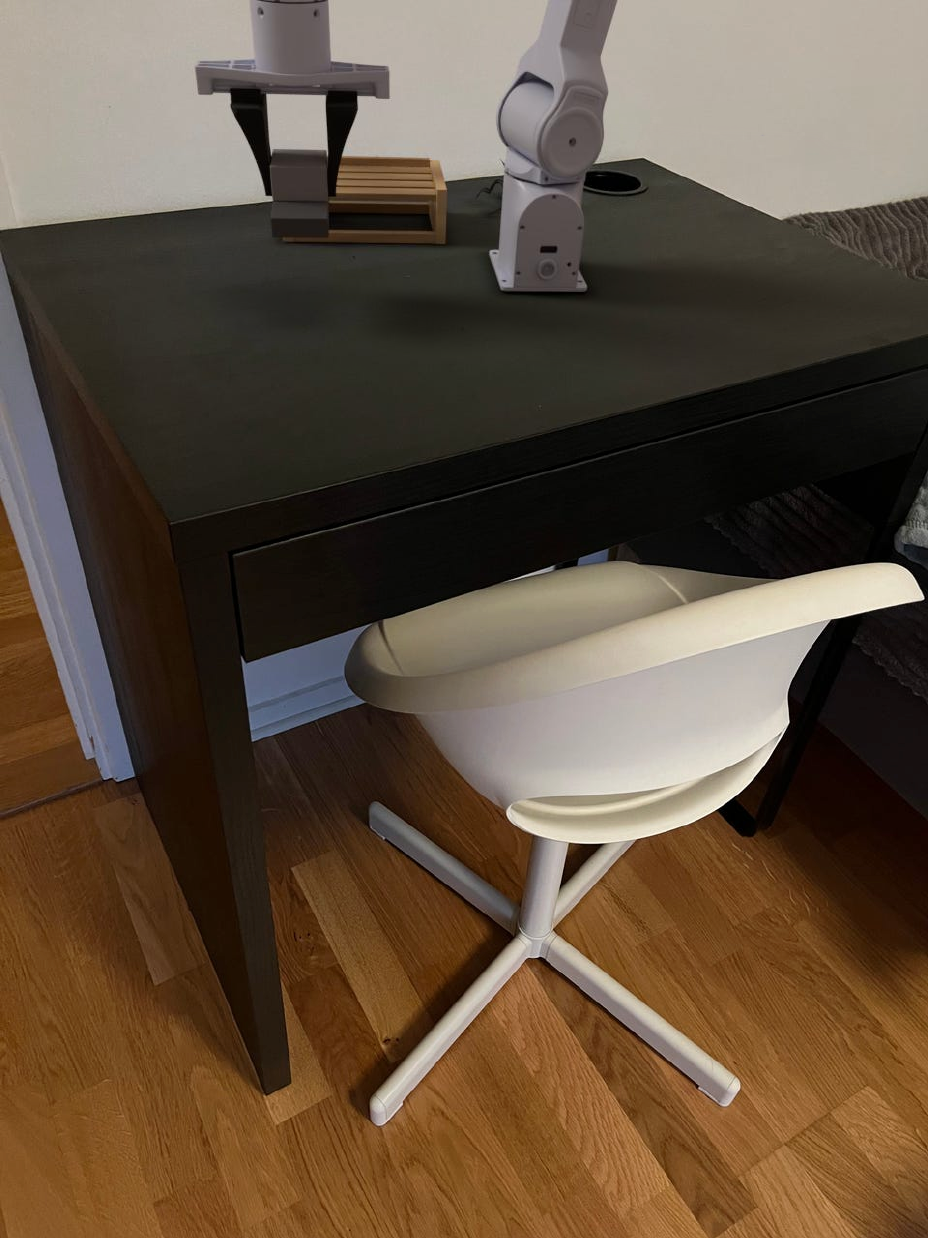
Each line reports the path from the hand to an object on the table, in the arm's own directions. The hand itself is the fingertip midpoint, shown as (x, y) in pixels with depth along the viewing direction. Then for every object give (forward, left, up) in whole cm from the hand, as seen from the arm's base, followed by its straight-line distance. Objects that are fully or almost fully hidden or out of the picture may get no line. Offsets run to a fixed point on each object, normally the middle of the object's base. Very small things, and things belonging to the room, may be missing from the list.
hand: (301, 192), depth 78 cm
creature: (+25, -21, -9) cm, 34 cm away
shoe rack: (+18, -5, -9) cm, 21 cm away
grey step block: (-2, 0, -1) cm, 2 cm away
